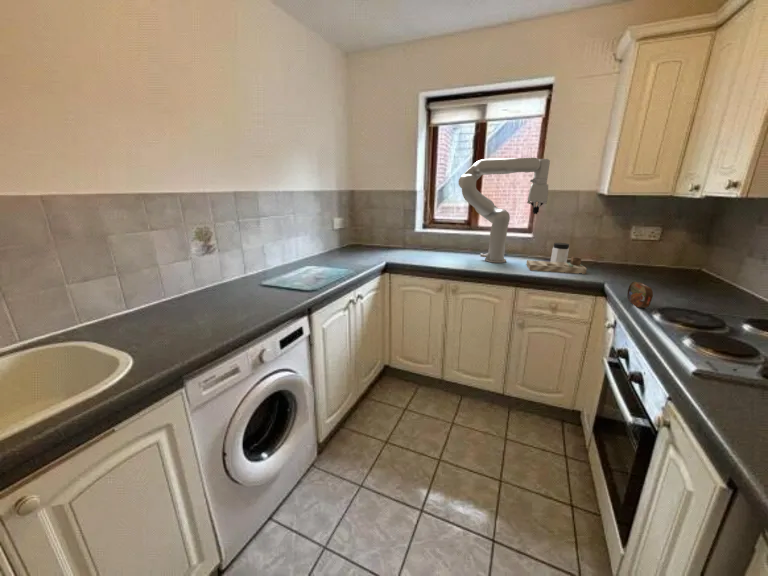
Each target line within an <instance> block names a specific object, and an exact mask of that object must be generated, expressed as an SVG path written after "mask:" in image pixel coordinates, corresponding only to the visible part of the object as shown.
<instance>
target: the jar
mask: <svg viewBox="0 0 768 576" xmlns="http://www.w3.org/2000/svg"><path fill="white" fill-rule="evenodd" d="M569 247H570V244H569V243H566V242H554V243H553V247H552V251H551V254H550V255H551V256H550V261H549V262H565V263H568V257H569V251H570V248H569Z"/></svg>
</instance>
